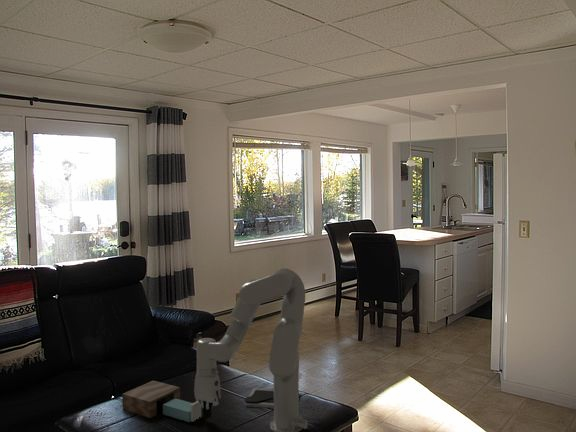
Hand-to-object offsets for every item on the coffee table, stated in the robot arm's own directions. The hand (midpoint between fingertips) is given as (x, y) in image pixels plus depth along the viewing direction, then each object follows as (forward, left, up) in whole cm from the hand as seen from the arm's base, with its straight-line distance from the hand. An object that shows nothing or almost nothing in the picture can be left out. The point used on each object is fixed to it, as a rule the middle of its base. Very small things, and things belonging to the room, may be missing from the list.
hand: (207, 417), depth 190 cm
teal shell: (+13, 0, -2) cm, 13 cm away
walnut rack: (+30, 0, -2) cm, 30 cm away
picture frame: (-11, -30, -3) cm, 32 cm away
